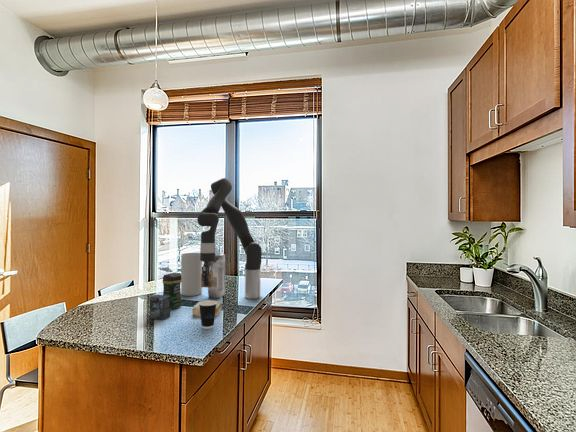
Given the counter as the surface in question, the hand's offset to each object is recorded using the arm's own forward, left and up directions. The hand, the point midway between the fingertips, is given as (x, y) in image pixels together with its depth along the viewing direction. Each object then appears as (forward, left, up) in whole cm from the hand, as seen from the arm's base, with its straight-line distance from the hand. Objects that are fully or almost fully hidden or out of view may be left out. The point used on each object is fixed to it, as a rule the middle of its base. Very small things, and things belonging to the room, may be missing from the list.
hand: (207, 284), depth 168 cm
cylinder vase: (+19, -38, -15) cm, 45 cm away
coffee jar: (+21, -8, -15) cm, 27 cm away
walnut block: (0, 0, -1) cm, 1 cm away
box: (+21, +9, -15) cm, 27 cm away
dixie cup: (-5, +21, -15) cm, 26 cm away
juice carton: (+2, -32, -15) cm, 35 cm away
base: (0, 0, -14) cm, 14 cm away
